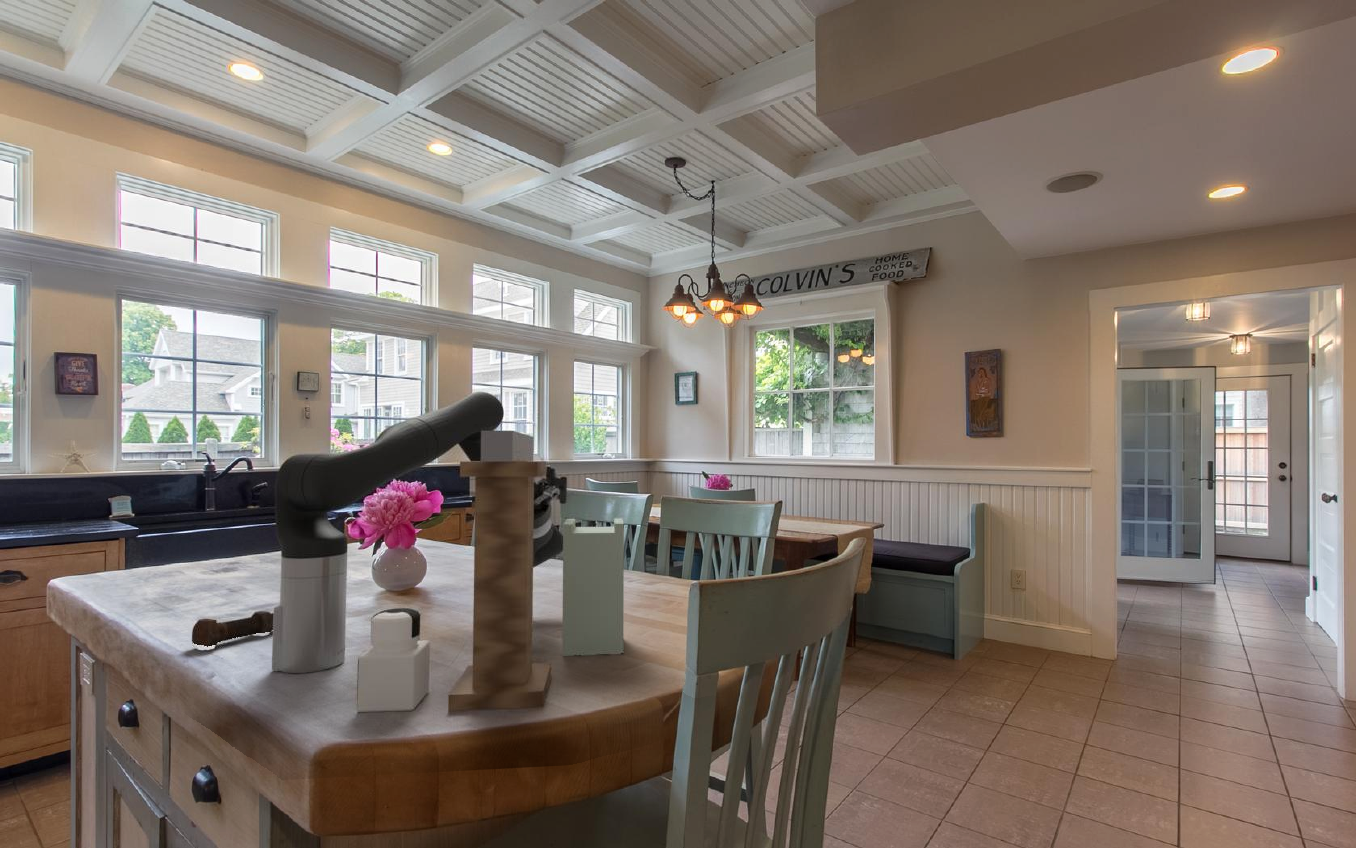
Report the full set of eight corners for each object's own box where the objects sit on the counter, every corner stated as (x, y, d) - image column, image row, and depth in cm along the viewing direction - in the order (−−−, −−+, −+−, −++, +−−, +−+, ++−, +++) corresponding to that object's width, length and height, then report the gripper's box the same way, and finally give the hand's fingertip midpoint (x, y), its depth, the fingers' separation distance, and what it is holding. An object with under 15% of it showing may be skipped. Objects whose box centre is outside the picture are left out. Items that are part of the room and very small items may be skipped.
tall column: (448, 711, 84) (452, 461, 86) (467, 679, 96) (471, 461, 97) (543, 706, 85) (545, 461, 87) (550, 676, 97) (552, 461, 99)
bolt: (286, 640, 124) (201, 659, 110) (271, 624, 126) (186, 641, 112) (298, 614, 123) (214, 630, 110) (283, 599, 125) (199, 613, 112)
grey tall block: (562, 656, 107) (563, 524, 108) (566, 639, 117) (566, 518, 118) (623, 654, 108) (623, 523, 109) (622, 637, 118) (622, 518, 119)
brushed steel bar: (480, 461, 84) (481, 430, 84) (508, 461, 108) (508, 436, 108) (512, 461, 84) (512, 430, 85) (533, 461, 108) (533, 437, 108)
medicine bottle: (376, 693, 90) (378, 605, 91) (429, 691, 91) (431, 604, 91) (355, 713, 83) (358, 618, 84) (413, 711, 84) (415, 616, 84)
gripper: (495, 494, 126) (482, 451, 112) (570, 494, 127) (566, 451, 114) (491, 530, 122) (477, 490, 108) (568, 529, 123) (564, 489, 110)
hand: (523, 470), depth 111 cm, fingers open, 8 cm apart
